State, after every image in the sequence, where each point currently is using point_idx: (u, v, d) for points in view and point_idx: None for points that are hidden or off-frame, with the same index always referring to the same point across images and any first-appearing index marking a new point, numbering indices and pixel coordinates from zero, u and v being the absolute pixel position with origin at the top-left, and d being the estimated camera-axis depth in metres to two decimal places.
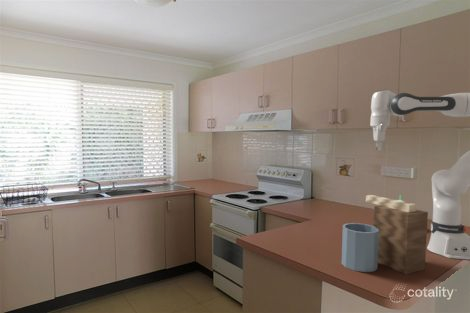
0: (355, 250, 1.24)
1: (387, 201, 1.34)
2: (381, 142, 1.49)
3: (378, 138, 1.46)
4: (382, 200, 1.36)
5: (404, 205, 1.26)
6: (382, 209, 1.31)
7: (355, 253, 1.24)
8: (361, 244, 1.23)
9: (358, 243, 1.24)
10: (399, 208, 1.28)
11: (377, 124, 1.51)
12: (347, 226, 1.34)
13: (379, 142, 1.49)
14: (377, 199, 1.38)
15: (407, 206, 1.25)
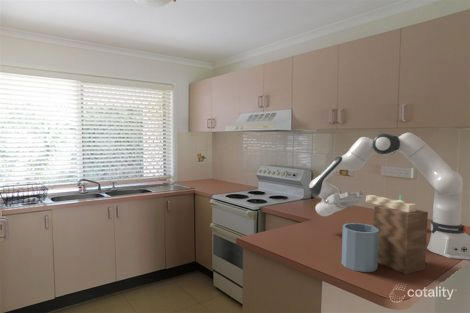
0: (355, 250, 1.24)
1: (387, 201, 1.34)
2: (339, 195, 1.53)
3: (333, 200, 1.53)
4: (382, 200, 1.36)
5: (404, 205, 1.26)
6: (382, 209, 1.31)
7: (355, 253, 1.24)
8: (361, 244, 1.23)
9: (358, 243, 1.24)
10: (399, 208, 1.28)
11: (333, 204, 1.61)
12: (347, 226, 1.34)
13: (340, 197, 1.53)
14: (377, 199, 1.38)
15: (407, 206, 1.25)
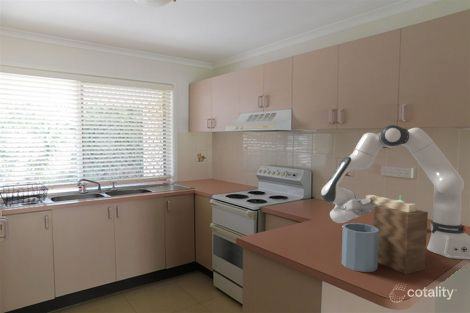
0: (355, 250, 1.24)
1: (387, 201, 1.34)
2: (361, 201, 1.44)
3: (351, 206, 1.42)
4: (382, 200, 1.36)
5: (404, 205, 1.26)
6: (382, 209, 1.31)
7: (355, 253, 1.24)
8: (361, 244, 1.23)
9: (358, 243, 1.24)
10: (399, 208, 1.28)
11: (350, 210, 1.50)
12: (347, 226, 1.34)
13: (362, 203, 1.43)
14: (377, 199, 1.38)
15: (407, 206, 1.25)
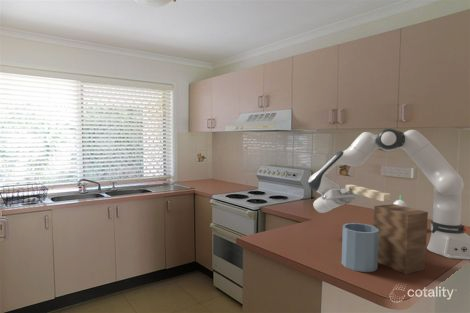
0: (355, 250, 1.24)
1: (364, 190, 1.38)
2: (341, 190, 1.48)
3: (331, 195, 1.47)
4: (360, 189, 1.41)
5: (379, 194, 1.31)
6: (382, 209, 1.31)
7: (355, 253, 1.24)
8: (361, 244, 1.23)
9: (358, 243, 1.24)
10: (375, 197, 1.33)
11: (331, 200, 1.55)
12: (347, 226, 1.34)
13: (341, 192, 1.48)
14: (355, 188, 1.43)
15: (382, 195, 1.30)
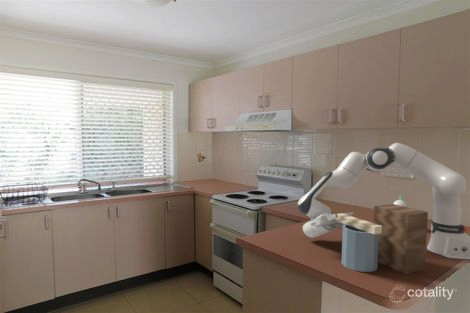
0: (355, 250, 1.24)
1: (354, 221, 1.30)
2: (327, 217, 1.39)
3: (320, 222, 1.38)
4: (350, 220, 1.32)
5: (370, 226, 1.23)
6: (382, 209, 1.31)
7: (355, 253, 1.24)
8: (361, 244, 1.23)
9: (358, 243, 1.24)
10: (365, 229, 1.25)
11: (321, 226, 1.46)
12: (347, 226, 1.34)
13: (328, 219, 1.38)
14: (345, 218, 1.35)
15: (373, 228, 1.21)
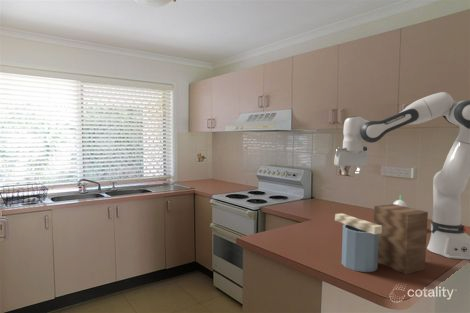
0: (355, 250, 1.24)
1: (354, 221, 1.30)
2: (342, 167, 1.56)
3: (334, 163, 1.56)
4: (350, 220, 1.32)
5: (370, 226, 1.23)
6: (382, 209, 1.31)
7: (355, 253, 1.24)
8: (361, 244, 1.23)
9: (358, 243, 1.24)
10: (365, 229, 1.25)
11: None
12: (347, 226, 1.34)
13: (340, 167, 1.56)
14: (345, 218, 1.35)
15: (373, 228, 1.21)
